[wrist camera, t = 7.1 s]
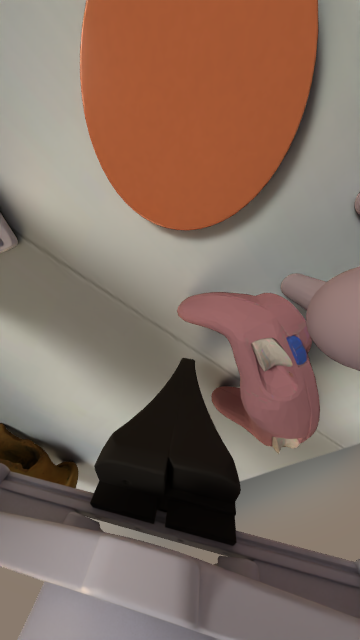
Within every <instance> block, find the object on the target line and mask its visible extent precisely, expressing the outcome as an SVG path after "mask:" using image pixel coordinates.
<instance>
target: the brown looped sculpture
mask: <svg viewBox="0 0 360 640" xmlns="http://www.w3.org/2000/svg"><path fill="white" fill-rule="evenodd" d="M0 463H2V464H4V465H6V466H7V467H8V468H9V470H10V471H11V472H15V473H19V474H23V475H26V476H30V477H34V478H38V479H42V480H45V481H49V482H53V483H57V484H61V485H64V486H68V487H72V488H76V484H77V480H78V467H77V465H76V464H75V463H74V462H62V463H60V464H58V465H55V464H53V462H52V461H51V460H50V458H49V456H48V454H47V453H46V452H45V451H44V450H43V449H42V448H41V447H40V446H38V445H37V444H34V442H33V441H31V440H29V439H21V438H19V437H17V436H15V435H14V434H12V433H11V432H9V431H8V430H7V429H6V426H4V424H2V423H0Z"/></svg>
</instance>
